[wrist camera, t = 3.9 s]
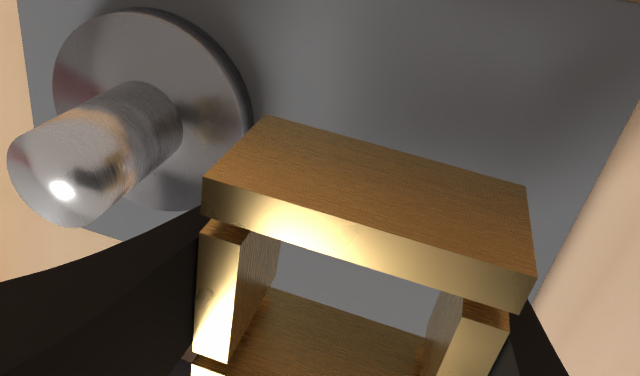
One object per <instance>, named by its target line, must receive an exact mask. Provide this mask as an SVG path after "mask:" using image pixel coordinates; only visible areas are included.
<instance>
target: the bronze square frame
mask: <svg viewBox="0 0 640 376" xmlns="http://www.w3.org/2000/svg"><path fill="white" fill-rule="evenodd" d="M200 215H203V216H206V217H209V218H211V219H210V221H209V222H208V223H207V224H206V225H205V227H204V228H203V229H202V230H201V231H200V232H199V246H198V263H197V281H196V298H195V316H194V333H193V351H192V352H195V353H198V355H197V356H196V358H195V360H194V361H193V363H192V368H191V376H488V374H489V372H490V370H491V368H492V366H493V364H494V362H495V360H496V358H497V356H498V354H499V352H500V350H501V349H502V347H503V345H504V343H505V341H506V339H507V337H508V335H509V333H510V325H509V312H510V313H514V314H517V315H519V314H520V312H521V310H522V308H523V306H524V304H525V302H526V300H527V298H528V296H529V294H530V293H531V291H532V289H533V287H534V285H535V283H536V281H537V279H538V274H537V267H536V260H535V252H534V245H533V237H532V230H531V222H530V215H529V208H528V200H527V193H526V186H524V185H520V184H516V183H513V182H509V181H506V180H502V179H498V178H495V177H491V176H488V175H484V174H480V173H477V172H473V171H470V170H466V169H463V168H459V167H455V166H452V165H448V164H445V163H441V162H437V161H434V160H430V159H427V158H423V157H419V156H416V155H412V154H409V153H405V152H401V151H398V150H394V149H391V148H387V147H383V146H380V145H376V144H373V143H369V142H366V141H362V140H358V139H355V138H351V137H348V136H344V135H340V134H337V133H333V132H330V131H326V130H322V129H319V128H315V127H312V126H308V125H304V124H301V123H297V122H294V121H290V120H287V119H283V118H279V117H276V116H272V115H269V114H265V115H264V116H263V117H262V118H261V119H260V120H259V121H258V122H257V123H256V124H255V125H254V126H253V127H252V128H251V129H250V130H249V131H248V132H247V133H246V134H245V135H244V136H243V137H242V138H241V139H240V140H239V141H238V142H237V143H236V144H235V145H234V146H233V147H232V148H231V149H230V150H229V151H228V152H227V153H226V154H225V155H224V156H223V157H222V158H221V159H220V160H219V161H218V162H217V163H216V164H215V165H213V166H212V167H211V168H210V169H209V170H208V171H207V172H206V173H205V174H204V175H203V176H202V193H201V211H200ZM281 241H285V242H288V243H291V244H295V245H298V246H301V247H304V248H307V249H310V250H314V251H317V252H320V253H323V254H326V255H330V256H333V257H336V258H339V259H342V260H345V261H349V262H352V263H355V264H358V265H361V266H364V267H368V268H371V269H374V270H377V271H380V272H383V273H387V274H390V275H393V276H396V277H399V278H403V279H406V280H409V281H412V282H415V283H418V284H422V285H425V286H428V287H431V288H434V289H437V290H441V291H440V293H439V296H438V298H437V301H436V304H435V306H434V309H433V311H432V314H431V316H430V319H429V321H428V324H427V328H426V335H425V338H424V337H421V336H418V335H415V334H412V333H409V332H406V331H403V330H400V329H397V328H394V327H391V326H388V325H385V324H382V323H379V322H376V321H373V320H370V319H367V318H364V317H361V316H358V315H355V314H352V313H349V312H346V311H343V310H340V309H337V308H334V307H330V306H327V305H324V304H321V303H318V302H315V301H312V300H309V299H306V298H303V297H300V296H297V295H294V294H291V293H288V292H285V291H282V290H279V289H276V288H273V287H270V286H271V284H272V282H273V280H274V279H275V277H276V271H277V265H278V259H279V253H280V247H281Z"/></svg>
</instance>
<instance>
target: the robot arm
mask: <svg viewBox="0 0 640 376" xmlns="http://www.w3.org/2000/svg"><path fill="white" fill-rule="evenodd" d="M200 211H201V205H199V206H197V207H195V208H193V209H191V210H189V211H187V212H185V213H183V214H181V215H179V216H177V217H176V218H173V219H171V220H169V221H167V222H165V223H163V224H161V225H159V226H157V227H155V228H153V229H151V230H149V231H147V232H145V233H142V234H140V235H138V236H135V237H133V238H131V239H128V240H126V241H124V242H121V243H119V244H117V245H114V246H112V247H110V248H107V249H105V250H103V251H100V252H97V253H95V254H92V255H90V256H87V257H84V258H81V259H78V260H75V261H72V262H69V263H66V264H63V265H60V266H57V267H54V268H51V269H48V270H45V271H41V272H37V273H33V274H30V275H26V276H22V277H19V278H15V279H11V280H7V281H4V282H0V376H169V374H170V373H171V372H172V370H173V369H174V367H175V366H176V365H177V363H178V362H179V360H180V359H181V357H182V356H183V355H184V353H185V352H186V350H187V349H188V348H189V346H190V345H191V343H192V342H193V333H194V316H195V298H196V281H197V263H198V246H199V232H200V231H201V230H202V229H203V228H204V227H205V225H206V224H207V223H208V222H209V221H210V219H211V218H209V217H206V216H203V215H200ZM509 325H510V333H509V335H508V337H507V339H506V341H505V343H504V345H503V347H502V349H501V350H500V352H499V354H498V356H497V358H496V360H495V362H494V364H493V366H492V368H491V370H490V372H489V374H488V376H569V375H568V373H567V371H566V369H565V368H564V366H563V364H562V362H561V361H560V359H559V357H558V355H557V354H556V352H555V350H554V348H553V346H552V344H551V343H550V341H549V339H548V337H547V335H546V333H545V331H544V329H543V327H542V325H541V323H540V321H539V320H538V318H537V316H536V314H535V312H534V310H533V308H532V306H531V304H530V302H529V300H528V298H527V300H526V302H525V304H524V306H523V308H522V310H521V312H520V314H519V315H517V314H514V313H510V312H509Z"/></svg>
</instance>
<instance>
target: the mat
mask: <svg viewBox="0 0 640 376" xmlns="http://www.w3.org/2000/svg"><path fill="white" fill-rule="evenodd" d="M17 6H18V13H19V20H20V28H21V35H22V42H23V50H24V57H25V64H26V72H27V79H28V86H29V94H30V101H31V108H32V116H33V123H34V128H36V127H38V126H40V125H42V124H44V123H45V122H47V121H49V120H51V119H53V118H55V117H57V113H56V110H55V105H54V99H53V89H52V79H53V70H54V65H55V61H56V58H57V55H58V53H59V50H60V48H61V46H62V45H63V43H64V42H65V40H66V39H67V37H68V36H69V35H70V34H71V33H72V32H73V31H74V30H75V29H76V28H78V27H79V26H80V25H81V24H83V23H85V22H87V21H89V20H91V19H93V18H96V17H99V16H102V15H106V14H109V13H112V12H115V11H118V10H122V9H125V8H133V7H150V8H155V9H161V10H164V11H168V12H171V13H174V14H176V15H178V16H180V17H183V18H185V19H187V20H189V21H190V22H192V23H193V24H195V25H196V26H198V27H200V28H201V29H202V30H203V31H205V32H206V33H207V34H208V35H210V36H211V37H212V38H213V39H214V40H215V41H216V42H217V43H218V44H219V45H220V46H221V47H222V48H223V49H224V51H225V52H226V53H227V54H228V56H229V57H230V58H231V60H232V61H233V63H234V64H235V66H236V67H237V69H238V71H239V72H240V74H241V76H242V78H243V81H244V83H245V85H246V87H247V90H248V93H249V96H250V99H251V104H252V108H253V115H254V125H255V124H256V123H257V122H258V121H259V120H260V119H261V118H262V117H263V116H264V115H265V114H269V115H272V116H276V117H279V118H283V119H287V120H290V121H294V122H297V123H301V124H304V125H308V126H312V127H315V128H319V129H322V130H326V131H330V132H333V133H337V134H340V135H344V136H348V137H351V138H355V139H358V140H362V141H366V142H369V143H373V144H376V145H380V146H383V147H387V148H391V149H394V150H398V151H401V152H405V153H409V154H412V155H416V156H419V157H423V158H427V159H430V160H434V161H437V162H441V163H445V164H448V165H452V166H455V167H459V168H463V169H466V170H470V171H473V172H477V173H480V174H484V175H488V176H491V177H495V178H498V179H502V180H506V181H509V182H513V183H516V184H520V185H524V186H526V193H527V200H528V208H529V215H530V222H531V230H532V237H533V245H534V252H535V260H536V267H537V274H538V279H537V281H536V283H535V285H534V287H533V289H532V291H531V293H530V294H529V296H528V300H529V302H530V304H531V303H532V301H533V299H534V298H535V296H536V294H537V292H538V290H539V288H540V286H541V284H542V282H543V281H544V279H545V277H546V275H547V273H548V271H549V269H550V267H551V265H552V264H553V262H554V260H555V258H556V256H557V254H558V252H559V250H560V248H561V246H562V245H563V243H564V241H565V239H566V237H567V235H568V233H569V231H570V229H571V228H572V226H573V224H574V222H575V220H576V218H577V216H578V214H579V212H580V210H581V209H582V207H583V205H584V203H585V201H586V199H587V197H588V195H589V193H590V192H591V190H592V188H593V186H594V184H595V182H596V180H597V178H598V176H599V174H600V173H601V171H602V169H603V167H604V165H605V163H606V161H607V159H608V157H609V156H610V154H611V152H612V150H613V148H614V146H615V144H616V142H617V140H618V139H619V137H620V135H621V133H622V131H623V129H624V127H625V125H626V123H627V121H628V120H629V118H630V116H631V114H632V112H633V110H634V108H635V106H636V104H637V103H638V101H639V99H640V4H638V3H634V2H629V1H625V0H17ZM187 211H189V210H186V211H161V210H155V209H151V208H147V207H144V206H141V205H139V204H136V203H134V202H132V201H129V200H127V199H125V198H123V197H122V198H121V199H119V200H118V201H117V202H116V203H115V204H113V205H112V206H111V207H110V208H109V209H107V210H106V211H105V212H104V213H103V214H101V215H100V216H99V217H98V218H97V219H95V220H94V221H93V222H92V223H90V224H89V225H87V226H84V227H81V228H84V229H87V230H90V231H93V232H96V233H99V234H102V235H105V236H108V237H111V238H114V239H118V240H121V241H126V240H128V239H131V238H133V237H135V236H138V235H140V234H142V233H145V232H147V231H149V230H151V229H153V228H155V227H157V226H159V225H161V224H163V223H165V222H167V221H169V220H171V219H173V218H176V217H177V216H179V215H181V214H183V213H185V212H187ZM270 287H273V288H276V289H279V290H282V291H285V292H288V293H291V294H294V295H297V296H300V297H303V298H306V299H309V300H312V301H315V302H318V303H321V304H324V305H327V306H330V307H334V308H337V309H340V310H343V311H346V312H349V313H352V314H355V315H358V316H361V317H364V318H367V319H370V320H373V321H376V322H379V323H382V324H385V325H388V326H391V327H394V328H397V329H400V330H403V331H406V332H409V333H412V334H415V335H418V336H421V337H424V338H425V335H426V328H427V324H428V321H429V319H430V316H431V314H432V311H433V309H434V306H435V304H436V301H437V298H438V296H439V293H440V291H441V290H437V289H434V288H431V287H428V286H425V285H422V284H418V283H415V282H412V281H409V280H406V279H403V278H399V277H396V276H393V275H390V274H387V273H383V272H380V271H377V270H374V269H371V268H368V267H364V266H361V265H358V264H355V263H352V262H349V261H345V260H342V259H339V258H336V257H333V256H330V255H326V254H323V253H320V252H317V251H314V250H310V249H307V248H304V247H301V246H298V245H295V244H291V243H288V242H285V241H281V247H280V253H279V259H278V265H277V271H276V277H275V279H274V280H273V282H272V284H271V286H270Z"/></svg>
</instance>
